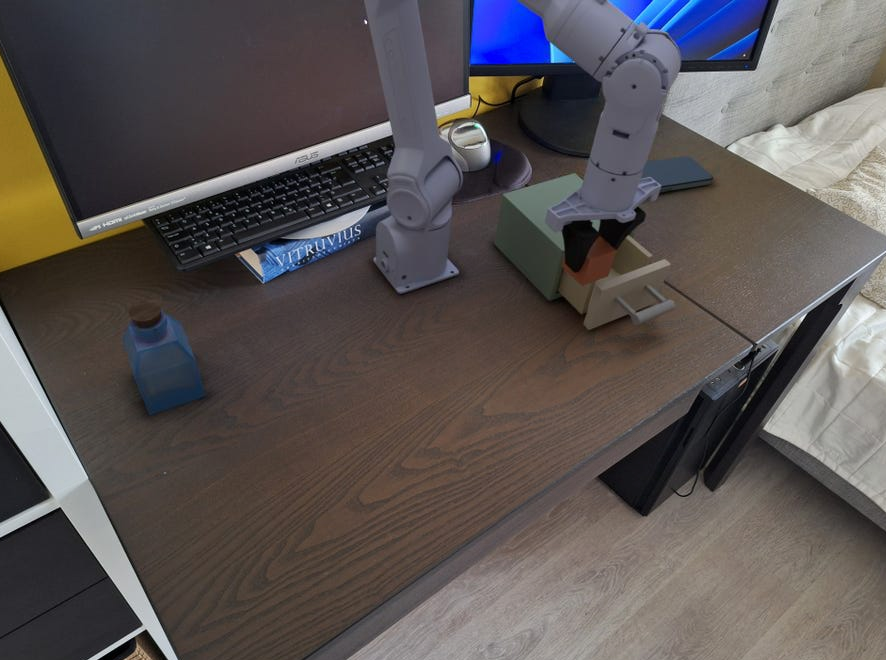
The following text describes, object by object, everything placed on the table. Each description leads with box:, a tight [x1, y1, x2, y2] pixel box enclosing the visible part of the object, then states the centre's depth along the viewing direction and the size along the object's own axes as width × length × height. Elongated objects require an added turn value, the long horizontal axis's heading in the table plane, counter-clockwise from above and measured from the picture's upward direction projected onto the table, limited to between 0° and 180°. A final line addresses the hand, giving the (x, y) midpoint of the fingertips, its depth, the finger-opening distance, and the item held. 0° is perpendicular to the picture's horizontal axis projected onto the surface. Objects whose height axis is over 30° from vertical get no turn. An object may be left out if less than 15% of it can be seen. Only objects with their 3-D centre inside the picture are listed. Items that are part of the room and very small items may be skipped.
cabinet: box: [494, 172, 638, 302], centre depth 93 cm, size 14×13×9 cm
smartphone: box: [641, 155, 714, 193], centre depth 112 cm, size 8×2×15 cm
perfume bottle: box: [122, 298, 207, 416], centre depth 72 cm, size 6×6×12 cm
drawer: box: [557, 235, 676, 331], centre depth 87 cm, size 17×11×7 cm, turn 30°
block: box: [562, 236, 617, 286], centre depth 79 cm, size 4×4×4 cm
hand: (586, 262), depth 80 cm, fingers closed on block, 4 cm apart
